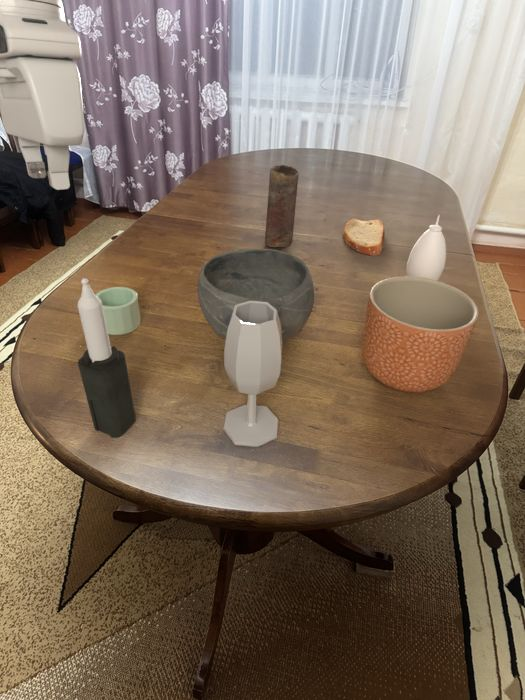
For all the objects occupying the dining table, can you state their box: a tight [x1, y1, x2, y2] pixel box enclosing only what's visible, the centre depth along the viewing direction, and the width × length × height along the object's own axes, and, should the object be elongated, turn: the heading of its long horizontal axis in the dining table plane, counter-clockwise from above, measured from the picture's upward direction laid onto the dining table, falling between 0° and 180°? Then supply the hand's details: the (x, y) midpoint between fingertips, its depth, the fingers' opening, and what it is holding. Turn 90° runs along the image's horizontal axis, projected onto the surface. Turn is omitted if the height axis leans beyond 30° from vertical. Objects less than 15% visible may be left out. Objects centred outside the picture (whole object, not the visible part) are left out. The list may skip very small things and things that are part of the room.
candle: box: [77, 277, 137, 439], centre depth 64 cm, size 5×5×25 cm
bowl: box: [197, 248, 315, 344], centre depth 87 cm, size 21×21×15 cm
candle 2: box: [264, 164, 300, 249], centre depth 120 cm, size 8×7×20 cm
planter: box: [361, 275, 480, 394], centre depth 79 cm, size 17×17×15 cm
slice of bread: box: [342, 218, 385, 256], centre depth 131 cm, size 18×18×4 cm
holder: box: [95, 286, 142, 336], centre depth 92 cm, size 8×8×6 cm
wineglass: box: [222, 301, 284, 448], centre depth 66 cm, size 9×9×21 cm
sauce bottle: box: [405, 214, 447, 281], centre depth 104 cm, size 8×8×18 cm
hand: (48, 182), depth 54 cm, fingers open, 8 cm apart
